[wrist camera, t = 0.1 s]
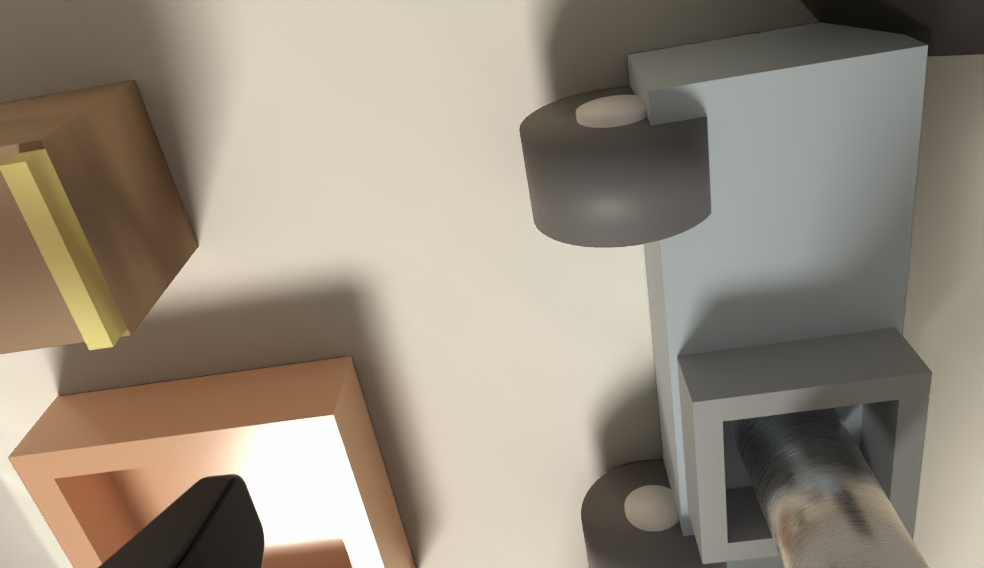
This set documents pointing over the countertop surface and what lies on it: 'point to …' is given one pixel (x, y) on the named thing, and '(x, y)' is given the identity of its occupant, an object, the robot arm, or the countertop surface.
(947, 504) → the countertop surface
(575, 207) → the dolly
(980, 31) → the phone stand
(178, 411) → the open tan box
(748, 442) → the pin
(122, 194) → the taped cardboard box
